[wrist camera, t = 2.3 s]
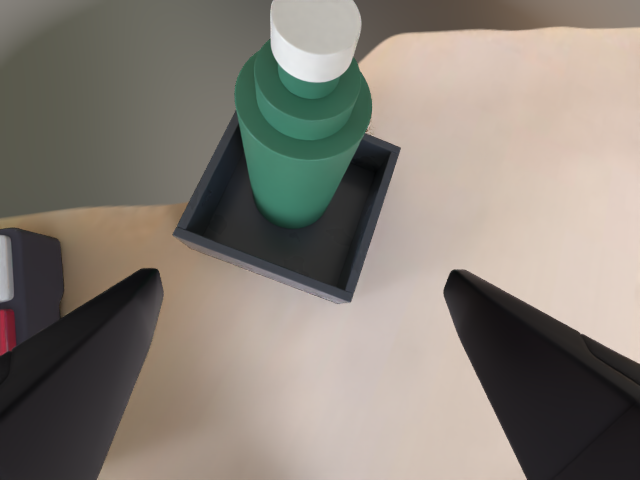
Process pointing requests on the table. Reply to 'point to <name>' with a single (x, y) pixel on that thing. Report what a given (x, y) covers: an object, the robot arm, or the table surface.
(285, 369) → the table surface
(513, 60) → the table surface
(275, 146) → the bottle
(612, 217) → the table surface
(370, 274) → the table surface
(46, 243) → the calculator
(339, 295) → the tray
